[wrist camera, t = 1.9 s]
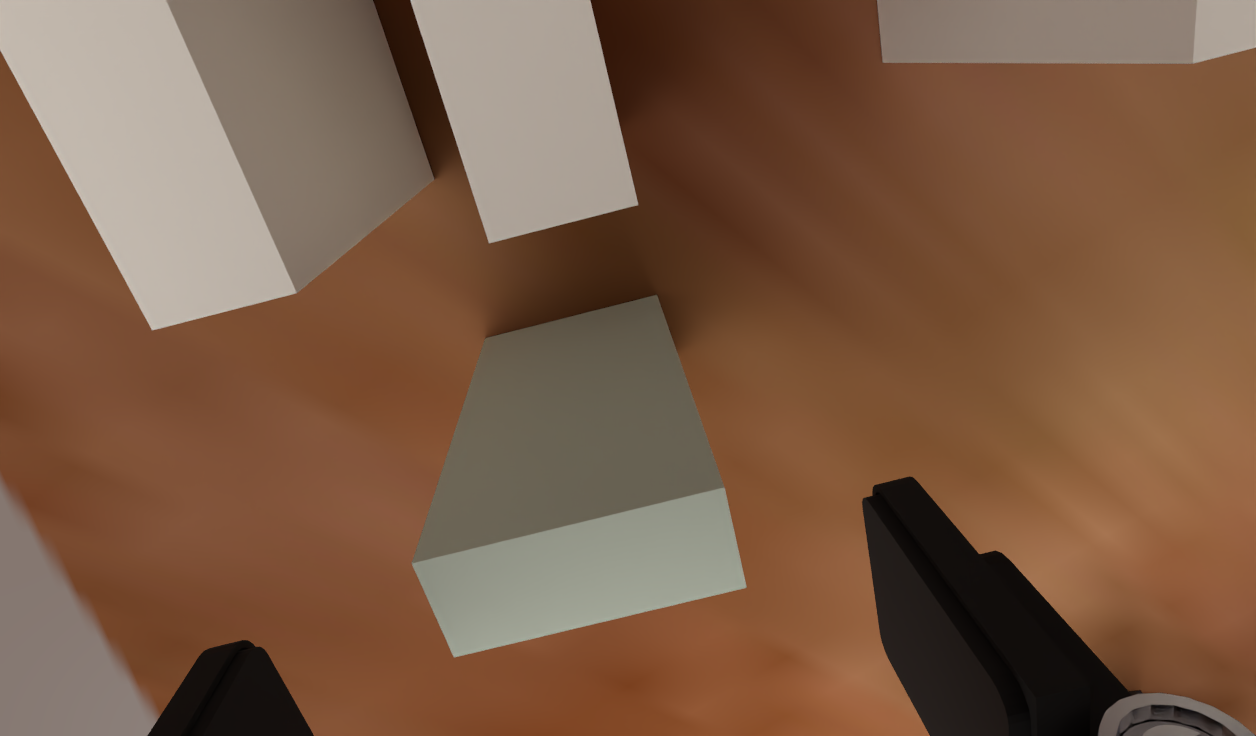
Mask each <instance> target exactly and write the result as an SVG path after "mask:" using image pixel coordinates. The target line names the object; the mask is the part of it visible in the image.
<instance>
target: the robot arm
mask: <svg viewBox="0 0 1256 736" xmlns="http://www.w3.org/2000/svg"><path fill="white" fill-rule="evenodd" d="M872 493H873V496H870V497H866V498H863V501H862V505H863V514H864V521H865V528H866V535H867V542H868V550H869V557H870V564H871V571H872V578H873V586H874V593H875V600H876V607H877V614H878V622H879V629H880V635H881V639H882V643H883V646H884V649H885V652H886V654H887V657H888V659H889V661H890V663H891V664H892V666H893V668H894V670H895V672H896V674H897V676H898V677H899V679H900V681H901V683H902V685H903V687H904V688H905V690H906V692H907V694H908V696H909V698H910V700H911V701H912V703H913V705H914V707H915V709H916V711H917V713H918V714H919V716H920V718H921V720H922V722H923V724H924V725H925V727H926V729H927V731H928V733H929V735H930V736H1255V735H1254V734H1253V733H1252V732H1251V731H1249V730H1248V729H1247V728H1246V727H1245V726H1244V725H1242V724H1241V723H1240V722H1239V721H1237V720H1236V719H1234V718H1232V717H1230V716H1229V715H1227V714H1225V713H1223V712H1222V711H1220V710H1218V709H1216V708H1215V707H1213V706H1210V705H1207V704H1204V703H1202V702H1199V701H1196V700H1193V699H1191V698H1188V697H1183V696H1177V695H1171V694H1165V693H1147V694H1136V695H1133V696H1132V695H1131V694H1130V693H1129V692H1128V690H1127V689H1126V688H1125V687H1124V686H1123V685H1122V684H1121V683H1120V682H1119V680H1118V679H1117V678H1116V677H1115V676H1114V675H1113V674H1112V673H1111V672H1110V670H1109V669H1108V668H1107V667H1106V666H1105V665H1104V664H1103V663H1102V662H1101V661H1100V659H1099V658H1098V657H1097V656H1096V655H1095V654H1094V653H1093V652H1092V651H1091V649H1090V648H1089V647H1088V646H1087V645H1086V644H1085V643H1084V642H1083V641H1082V639H1081V638H1080V637H1079V636H1078V635H1077V634H1076V633H1075V632H1074V631H1073V630H1072V628H1071V627H1070V626H1069V625H1068V624H1067V623H1066V622H1065V621H1064V620H1063V618H1062V617H1061V616H1060V615H1059V614H1058V613H1057V612H1056V611H1055V610H1054V608H1053V607H1052V606H1051V605H1050V604H1049V603H1048V602H1047V601H1046V600H1045V599H1044V597H1043V596H1042V595H1041V594H1040V593H1039V592H1038V591H1037V590H1036V589H1035V587H1034V586H1033V585H1032V584H1031V583H1030V582H1029V581H1028V580H1027V579H1026V577H1025V576H1024V575H1023V574H1022V573H1021V572H1020V571H1019V570H1018V569H1017V568H1016V566H1015V565H1014V564H1013V563H1012V562H1011V561H1010V560H1009V559H1008V558H1007V557H1006V556H1005V555H1003V554H1002V553H1000V552H998V551H992V552H988V553H984V554H978V552H977V551H976V550H975V549H974V548H973V546H972V545H971V544H970V543H969V542H968V541H967V539H966V538H965V537H964V536H963V535H962V534H961V532H960V531H959V530H958V529H957V528H956V526H955V525H954V524H953V523H952V522H951V521H950V519H949V518H948V517H947V516H946V515H945V514H944V512H943V511H942V510H941V509H940V508H939V506H938V505H937V504H936V503H935V502H934V501H933V499H932V498H931V497H930V496H929V495H928V494H927V492H926V491H925V490H924V489H923V488H922V486H921V485H920V484H919V483H918V482H917V481H916V480H915V479H914V478H913V477H906V478H902V479H898V480H894V481H890V482H886V483H881V484H877V485H874V487H873V491H872ZM148 736H314V735H313V733H312V731H311V730H310V728H309V726H308V724H307V723H306V721H305V719H304V717H303V715H302V714H301V712H300V710H299V708H298V707H297V705H296V703H295V701H294V700H293V698H292V696H291V694H290V693H289V691H288V689H287V687H286V685H285V684H284V682H283V680H282V678H281V677H280V675H279V673H278V671H277V670H276V668H275V666H274V664H273V663H272V661H271V659H270V657H269V655H268V654H267V652H266V651H265V650H264V649H263V648H261V647H255V646H254V644H253V643H251V642H249V641H248V640H242V641H238V642H234V643H229V644H225V645H221V646H217V647H213V648H209V649H207V650H205V651H204V652H203V653H202V654H201V655H200V656H199V657H198V659H197V660H196V662H195V664H194V665H193V667H192V668H191V670H190V671H189V673H188V674H187V676H186V677H185V679H184V680H183V682H182V684H181V685H180V687H179V688H178V690H177V691H176V693H175V694H174V696H173V697H172V699H171V700H170V702H169V704H168V705H167V707H166V708H165V710H164V711H163V713H162V714H161V716H160V717H159V719H158V720H157V722H156V724H155V725H154V727H153V728H152V730H151V732H150V733H149V734H148Z"/></svg>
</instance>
